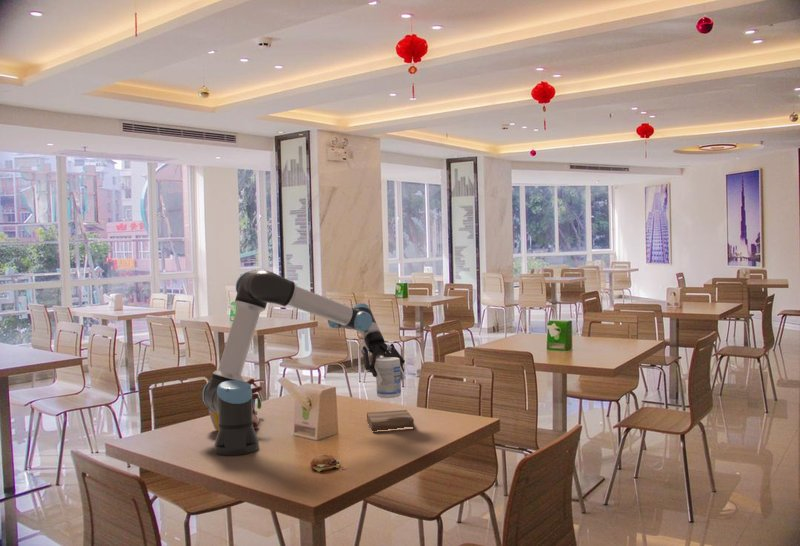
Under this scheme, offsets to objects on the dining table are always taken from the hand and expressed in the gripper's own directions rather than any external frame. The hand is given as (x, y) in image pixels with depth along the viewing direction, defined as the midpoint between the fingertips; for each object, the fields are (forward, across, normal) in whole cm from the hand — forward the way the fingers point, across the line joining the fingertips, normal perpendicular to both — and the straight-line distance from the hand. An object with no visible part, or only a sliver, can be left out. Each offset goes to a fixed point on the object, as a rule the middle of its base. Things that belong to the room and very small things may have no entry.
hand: (392, 381), depth 266 cm
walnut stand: (+11, 0, -15) cm, 18 cm away
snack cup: (-21, +44, -47) cm, 68 cm away
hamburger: (+36, +41, +9) cm, 55 cm away
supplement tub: (+2, 0, -7) cm, 7 cm away
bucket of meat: (-16, +61, -33) cm, 71 cm away
